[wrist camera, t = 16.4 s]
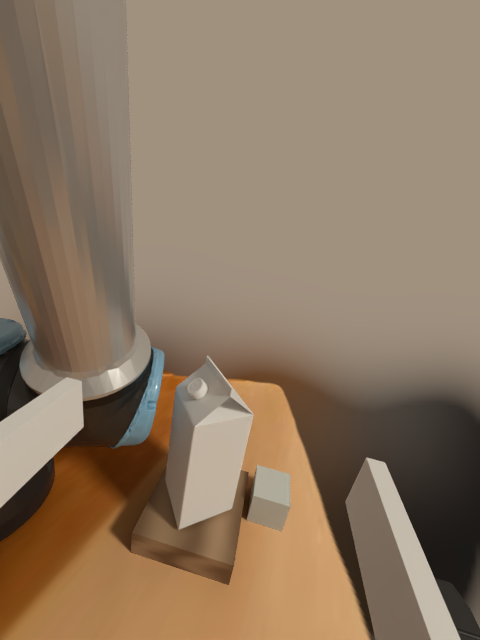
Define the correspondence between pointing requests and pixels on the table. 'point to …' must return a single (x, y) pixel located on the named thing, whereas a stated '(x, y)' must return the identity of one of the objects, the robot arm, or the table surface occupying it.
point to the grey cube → (269, 498)
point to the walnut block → (190, 535)
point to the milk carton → (205, 445)
